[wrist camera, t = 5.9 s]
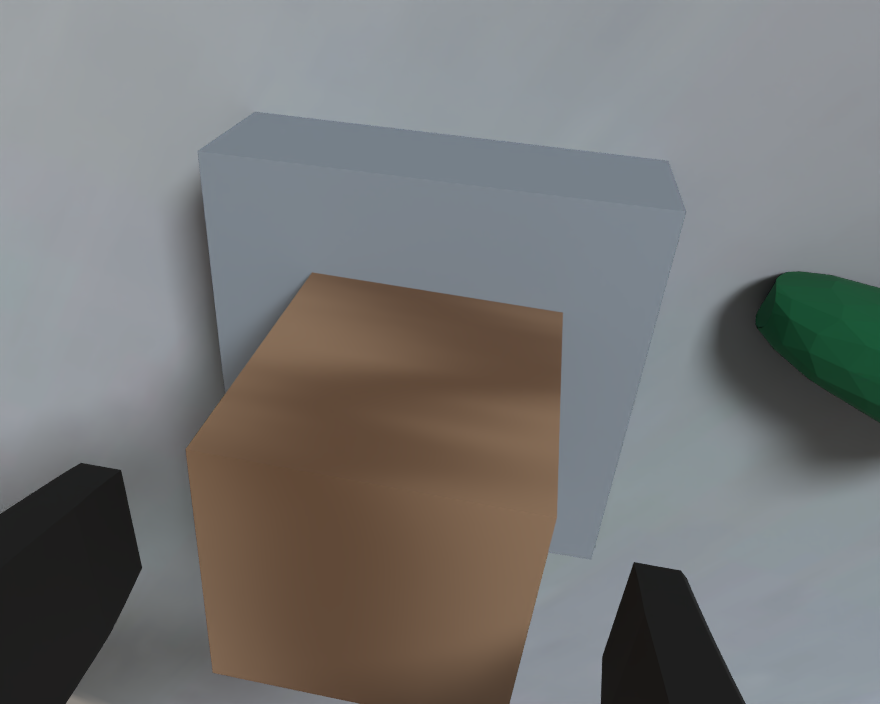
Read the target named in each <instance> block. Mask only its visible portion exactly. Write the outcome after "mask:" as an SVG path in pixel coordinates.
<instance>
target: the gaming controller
mask: <svg viewBox="0 0 880 704" xmlns="http://www.w3.org/2000/svg"><path fill="white" fill-rule="evenodd" d="M756 326H757V328H758V330H759V331H760V332H761V333H762V335H763V336H764V337H765V338H766V340H767V341H768V342H769V343H770V345H771V346H772V347H773V348H774V349H775V350H776V351H777V352H778V353H779V354H780V355H781V356H783V357H784V358H785V359H786V360H787V361H788V362H790V363H791V364H792V365H793V366H794V367H795V368H796V369H798V370H799V371H800V372H801V373H802V374H803V375H805V376H806V377H807V378H808V379H810V380H811V381H813V382H814V383H816V384H817V385H819V386H820V387H822V388H824V389H825V390H827V391H828V392H830V393H832V394H833V395H835V396H837V397H838V398H840V399H842V400H843V401H845V402H846V403H848V404H850V405H851V406H853V407H855V408H856V409H858V410H860V411H861V412H863V413H865V414H866V415H868V416H870V417H871V418H873V419H875V420H876V421H878V422H880V288H878V287H874V286H870V285H867V284H863V283H859V282H855V281H852V280H848V279H844V278H840V277H837V276H833V275H826V274H818V273H809V272H800V271H798V272H786V273H784V274H782V275H780V276H779V277H778V278H777V279H776V282H775V284H774V286H773V287H772V289H771V291H770V292H769V294H768V296H767V297H766V299H765V300H764V302H763V303H762V305H761V307H760V308H759V310H758V312H757V314H756Z"/></svg>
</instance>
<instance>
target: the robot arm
mask: <svg viewBox="0 0 880 704" xmlns="http://www.w3.org/2000/svg"><path fill="white" fill-rule="evenodd" d="M141 569H142V566H141V561H140V556H139V552H138V547H137V542H136V538H135V533H134V528H133V524H132V519H131V514H130V510H129V505H128V500H127V496H126V491H125V486H124V482H123V477H122V472H121V470H118V469H112V468H106V467H101V466H95V465H90V464H84V463H80V464H78V465H77V466H75V467H73V468H72V469H70V470H68V471H67V472H65V473H63V474H62V475H60V476H59V477H57V478H55V479H54V480H52V481H51V482H49V483H48V484H46V485H45V486H43V487H41V488H40V489H38V490H37V491H35V492H34V493H32V494H31V495H29V496H27V497H26V498H24V499H23V500H21V501H20V502H18V503H17V504H15V505H14V506H12V507H11V508H9V509H7V510H6V511H4V512H3V513H1V514H0V704H66V702H67V701H68V699H69V698H70V696H71V695H72V693H73V692H74V690H75V688H76V687H77V685H78V684H79V682H80V681H81V679H82V678H83V676H84V674H85V673H86V671H87V670H88V668H89V667H90V665H91V663H92V662H93V660H94V659H95V657H96V656H97V654H98V652H99V651H100V649H101V648H102V646H103V644H104V643H105V641H106V640H107V638H108V636H109V635H110V633H111V631H112V629H113V627H114V625H115V623H116V621H117V619H118V617H119V615H120V613H121V611H122V609H123V607H124V605H125V603H126V601H127V599H128V597H129V594H130V592H131V590H132V588H133V586H134V584H135V582H136V580H137V577H138V575H139V573H140V571H141ZM601 704H746V703H745V701H744V700H743V698H742V696H741V694H740V692H739V690H738V688H737V686H736V684H735V682H734V680H733V678H732V676H731V674H730V672H729V670H728V668H727V665H726V663H725V661H724V659H723V657H722V655H721V653H720V651H719V649H718V647H717V645H716V643H715V641H714V638H713V636H712V634H711V632H710V630H709V628H708V626H707V623H706V621H705V619H704V617H703V615H702V612H701V610H700V608H699V606H698V603H697V601H696V599H695V597H694V594H693V592H692V590H691V587H690V585H689V583H688V580H687V578H686V577H685V575H684V574H683V573H682V572H681V571H680V570H674V569H669V568H663V567H658V566H652V565H647V564H641V563H635V562H634V564H633V567H632V570H631V573H630V575H629V578H628V581H627V584H626V587H625V590H624V593H623V596H622V599H621V602H620V605H619V608H618V611H617V614H616V617H615V620H614V623H613V626H612V629H611V632H610V635H609V638H608V641H607V644H606V647H605V650H604V653H603V656H602V685H601Z"/></svg>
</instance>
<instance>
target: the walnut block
mask: <svg viewBox="0 0 880 704" xmlns="http://www.w3.org/2000/svg"><path fill="white" fill-rule="evenodd" d="M562 329H563V313H562V312H556V311H550V310H544V309H538V308H531V307H525V306H519V305H513V304H507V303H500V302H494V301H488V300H482V299H475V298H469V297H463V296H457V295H451V294H444V293H438V292H432V291H426V290H420V289H413V288H407V287H401V286H395V285H388V284H382V283H376V282H370V281H363V280H357V279H351V278H345V277H338V276H332V275H326V274H320V273H313V272H312V273H311V275H310V276H309V277H308V279H307V280H306V282H305V283H304V284H303V286H302V287H301V289H300V290H299V291H298V293H297V294H296V296H295V297H294V298H293V300H292V301H291V303H290V304H289V305H288V307H287V308H286V310H285V311H284V312H283V314H282V315H281V317H280V318H279V319H278V321H277V322H276V324H275V325H274V326H273V328H272V329H271V331H270V332H269V333H268V335H267V336H266V338H265V339H264V340H263V342H262V343H261V345H260V346H259V347H258V349H257V350H256V352H255V353H254V354H253V356H252V357H251V358H250V360H249V361H248V363H247V364H246V365H245V367H244V368H243V370H242V371H241V372H240V374H239V375H238V377H237V378H236V379H235V381H234V382H233V384H232V385H231V386H230V388H229V389H228V391H227V392H226V393H225V395H224V396H223V398H222V399H221V400H220V402H219V403H218V405H217V406H216V407H215V409H214V410H213V412H212V413H211V414H210V416H209V417H208V419H207V420H206V421H205V423H204V424H203V426H202V427H201V428H200V430H199V431H198V433H197V434H196V435H195V437H194V438H193V440H192V441H191V442H190V444H189V445H188V447H187V448H186V457H187V465H188V473H189V481H190V490H191V498H192V506H193V514H194V522H195V531H196V539H197V547H198V555H199V563H200V572H201V580H202V588H203V596H204V604H205V612H206V621H207V629H208V637H209V645H210V653H211V662H212V670H213V673H217V674H221V675H226V676H231V677H236V678H240V679H245V680H250V681H255V682H260V683H264V684H269V685H274V686H279V687H283V688H288V689H293V690H298V691H302V692H307V693H312V694H317V695H321V696H326V697H331V698H336V699H340V700H345V701H350V702H355V703H359V704H509V703H510V699H511V695H512V691H513V688H514V684H515V680H516V676H517V672H518V668H519V664H520V660H521V656H522V652H523V648H524V645H525V641H526V637H527V633H528V629H529V625H530V621H531V617H532V613H533V609H534V606H535V602H536V598H537V594H538V590H539V586H540V582H541V578H542V574H543V570H544V567H545V563H546V559H547V555H548V551H549V547H550V543H551V539H552V535H553V531H554V527H555V524H556V520H557V500H558V466H559V432H560V397H561V363H562Z"/></svg>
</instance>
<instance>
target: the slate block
mask: <svg viewBox="0 0 880 704" xmlns="http://www.w3.org/2000/svg"><path fill="white" fill-rule="evenodd" d="M198 160H199V168H200V177H201V186H202V195H203V204H204V213H205V222H206V230H207V239H208V248H209V257H210V266H211V275H212V284H213V292H214V301H215V310H216V319H217V328H218V337H219V346H220V354H221V363H222V372H223V381H224V390H225V393H226V392H227V391H228V389H229V388H230V386H231V385H232V384H233V382H234V381H235V379H236V378H237V377H238V375H239V374H240V372H241V371H242V370H243V368H244V367H245V365H246V364H247V363H248V361H249V360H250V358H251V357H252V356H253V354H254V353H255V352H256V350H257V349H258V347H259V346H260V345H261V343H262V342H263V340H264V339H265V338H266V336H267V335H268V333H269V332H270V331H271V329H272V328H273V326H274V325H275V324H276V322H277V321H278V319H279V318H280V317H281V315H282V314H283V312H284V311H285V310H286V308H287V307H288V305H289V304H290V303H291V301H292V300H293V298H294V297H295V296H296V294H297V293H298V291H299V290H300V289H301V287H302V286H303V284H304V283H305V282H306V280H307V279H308V277H309V276H310V275H311V273H312V272H313V273H320V274H326V275H332V276H338V277H345V278H351V279H357V280H363V281H370V282H376V283H382V284H388V285H395V286H401V287H407V288H413V289H420V290H426V291H432V292H438V293H444V294H451V295H457V296H463V297H469V298H475V299H482V300H488V301H494V302H500V303H507V304H513V305H519V306H525V307H531V308H538V309H544V310H550V311H556V312H562V313H563V329H562V363H561V397H560V432H559V466H558V500H557V520H556V524H555V527H554V531H553V535H552V539H551V543H550V547H549V551H548V552H550V553H556V554H562V555H567V556H573V557H579V558H585V559H592V555H593V551H594V548H595V544H596V540H597V537H598V533H599V529H600V526H601V522H602V518H603V515H604V511H605V507H606V504H607V500H608V496H609V493H610V489H611V485H612V482H613V478H614V474H615V471H616V467H617V463H618V460H619V456H620V452H621V449H622V445H623V441H624V438H625V434H626V430H627V427H628V423H629V419H630V416H631V412H632V408H633V405H634V401H635V397H636V394H637V390H638V386H639V383H640V379H641V376H642V372H643V368H644V365H645V361H646V357H647V354H648V350H649V346H650V343H651V339H652V335H653V332H654V328H655V324H656V321H657V317H658V313H659V310H660V306H661V302H662V299H663V295H664V291H665V288H666V284H667V280H668V277H669V273H670V269H671V266H672V262H673V258H674V255H675V251H676V247H677V244H678V240H679V236H680V233H681V229H682V225H683V222H684V218H685V214H686V210H685V207H684V204H683V201H682V198H681V196H680V193H679V190H678V187H677V184H676V181H675V178H674V176H673V173H672V170H671V167H670V164H669V161H665V160H657V159H648V158H640V157H631V156H623V155H614V154H606V153H597V152H589V151H581V150H572V149H564V148H555V147H547V146H538V145H530V144H522V143H513V142H505V141H496V140H488V139H479V138H471V137H463V136H454V135H446V134H437V133H429V132H420V131H412V130H404V129H395V128H387V127H378V126H370V125H361V124H353V123H345V122H336V121H328V120H319V119H311V118H302V117H294V116H286V115H277V114H269V113H260V112H254V113H253V114H251V115H250V116H248V117H247V118H245V119H244V120H242V121H241V122H239V123H238V124H237V125H235V126H234V127H232V128H231V129H229V130H228V131H226V132H225V133H223V134H222V135H220V136H219V137H217V138H216V139H215V140H213V141H212V142H210V143H209V144H207V145H206V146H204V147H203V148H201V149H200V150H198Z"/></svg>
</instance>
